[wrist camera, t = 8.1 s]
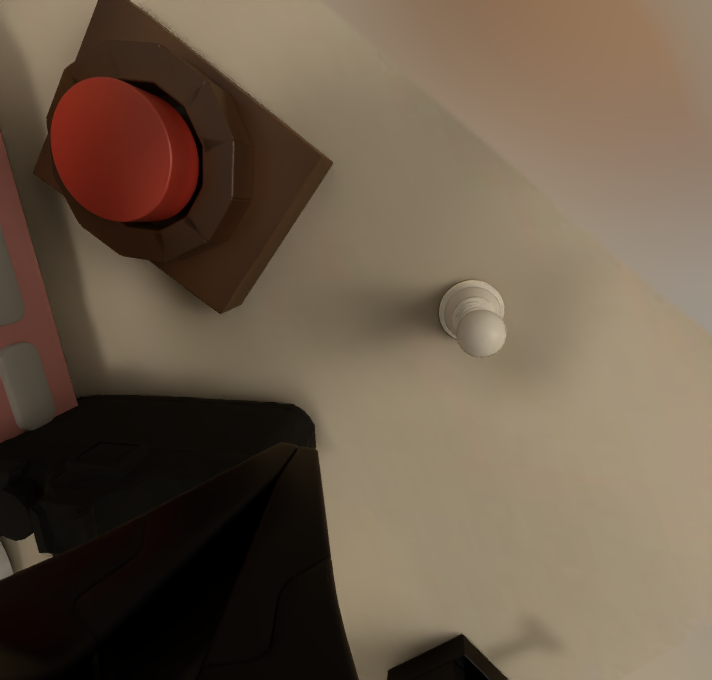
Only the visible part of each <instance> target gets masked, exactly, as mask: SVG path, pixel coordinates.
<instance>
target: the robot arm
mask: <svg viewBox="0 0 712 680" xmlns="http://www.w3.org/2000/svg"><path fill="white" fill-rule="evenodd" d="M0 680H359V679H358V675H357V672H356V668H355V665H354V661H353V658H352V654H351V651H350V647H349V644H348V640H347V637H346V633H345V629H344V625H343V621H342V617H341V613H340V609H339V605H338V600H337V594H336V588H335V582H334V575H333V567H332V560H331V553H330V545H329V537H328V529H327V521H326V513H325V505H324V497H323V489H322V481H321V473H320V465H319V457H318V451H317V450H316V449H313V448H308V447H303V446H301V447H299V448H298V446H297V445H293V444H288V443H283V442H281V443H278V444H276V445H274V446H272V447H270V448H268V449H267V450H265V451H263V452H261V453H259V454H257V455H255V456H253V457H251V458H249V459H247V460H245V461H243V462H242V463H240V464H238V465H236V466H234V467H232V468H230V469H228V470H226V471H224V472H222V473H220V474H218V475H217V476H215V477H213V478H211V479H209V480H207V481H205V482H203V483H201V484H199V485H197V486H195V487H193V488H192V489H190V490H188V491H186V492H184V493H182V494H180V495H178V496H176V497H174V498H172V499H170V500H168V501H167V502H165V503H163V504H161V505H159V506H157V507H155V508H153V509H151V510H149V511H147V512H146V513H145V517H144V515H139V516H137V517H135V518H134V519H132V520H130V521H128V522H126V523H124V524H122V525H120V526H118V527H116V528H114V529H112V530H110V531H108V532H106V533H104V534H102V535H100V536H98V537H96V538H94V539H92V540H90V541H87V542H85V543H83V544H81V545H78V546H76V547H74V548H72V549H70V550H67V551H65V552H63V553H61V554H59V555H56V556H54V557H52V558H50V559H47V560H45V561H43V562H40V563H38V564H36V565H33V566H31V567H29V568H26V569H24V570H22V571H20V572H17V573H15V574H13V575H10V576H8V577H6V578H3V579H1V580H0Z"/></svg>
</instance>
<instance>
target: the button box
mask: <svg viewBox="0 0 712 680" xmlns="http://www.w3.org/2000/svg"><path fill="white" fill-rule="evenodd" d="M93 77H110V78H115V79H118V80H121V81H124V82H126V83H128V84H130V85H133V86H135V87H137V88H139V89H141V90H144V91H146V92H148V93H150V94H153V95H155V96H157V97H159V98H161V99H163V100H164V101H166V102H167V103H168V104H170V105H171V106H172V107H173V108H174V109H175V110H176V111H177V112H178V113H179V114H180V115H181V116H182V118H183V119H184V121H185V122H186V123H187V125H188V127H189V129H190V131H191V133H192V135H193V137H194V140H195V143H196V147H197V151H198V157H199V176H198V182H197V185H196V189H195V191H194V193H193V196H192V197H191V199H190V201H189V202H188V204H187V205H186V206H185V207H184V208H183V209H182V210H181V211H180V212H179V213H177V214H176V215H174V216H173V217H171V218H168V219H166V220H162V221H154V222H115V221H110V220H106V219H104V218H101V217H99V216H97V215H95V214H93V213H91V212H90V211H88V210H87V209H86V208H84V207H83V206H82V205H81V204H80V203H79V202H78V201H77V200H76V199H75V198H74V197H73V196H72V195H71V193H70V192H69V191H68V190H67V188H66V186H65V185H64V183H63V182H62V180H61V178H60V176H59V173H58V171H57V168H56V166H55V162H54V159H53V155H52V149H51V125H52V119H53V116H54V112H55V110H56V107H57V105H58V103H59V101H60V100H61V98H62V97H63V95H64V94H65V93H66V92H67V91H68V90H69V89H70V88H71V87H72V86H74V85H75V84H77V83H79V82H80V81H83V80H85V79H88V78H93ZM46 119H47V130H48V134H47V137H46V140H45V142H44V145H43V148H42V150H41V153H40V156H39V158H38V161H37V164H36V166H35V169H34V172H33V173H34V174H36V175H37V176H38V177H40V178H41V179H42V180H44V181H45V182H46V183H47V184H49V185H50V186H51V187H53V188H54V189H55V190H57V191H58V192H59V193H61V194H62V195H63V196H64V197H65V199H66V201H67V203H68V204H69V206H70V208H71V210H72V212H73V213H74V215H75V217H76V219H77V221H78V222H79V224H81V226H82V227H83V228H85V229H86V230H87V231H89V232H90V233H91V234H93V235H94V236H95V237H97V238H98V239H99V240H101V241H102V242H103V243H105V244H106V245H107V246H109V247H110V248H111V249H113V250H114V251H115V252H117V253H118V254H119V255H122V256H125V257H132V258H138V259H145V260H149V261H151V262H152V263H153V264H155V265H156V266H157V267H159V268H160V269H161V270H163V271H164V272H165V273H166V274H168V275H169V276H170V277H172V278H173V279H174V280H176V281H177V282H178V283H180V284H181V285H182V286H184V287H185V288H186V289H188V290H189V291H190V292H192V293H193V294H194V295H196V296H197V297H198V298H200V299H201V300H202V301H203V302H205V303H206V304H207V305H209V306H210V307H211V308H213V309H214V310H215V311H217V312H218V313H219V314H222V313H224V312H226V311H228V310H230V309H232V308H235V307H237V306H239V305H241V304H242V303H243V301H244V299H245V298H246V296H247V295H248V293H249V292H250V290H251V289H252V287H253V286H254V284H255V283H256V281H257V279H258V278H259V276H260V275H261V273H262V272H263V270H264V269H265V267H266V266H267V264H268V263H269V261H270V259H271V258H272V256H273V255H274V253H275V252H276V250H277V249H278V247H279V246H280V244H281V243H282V241H283V239H284V238H285V236H286V235H287V233H288V232H289V230H290V229H291V227H292V226H293V224H294V223H295V221H296V219H297V218H298V216H299V215H300V213H301V212H302V210H303V209H304V207H305V206H306V204H307V203H308V201H309V199H310V198H311V196H312V195H313V193H314V192H315V190H316V189H317V187H318V186H319V184H320V183H321V181H322V180H323V178H324V176H325V175H326V173H327V172H328V170H329V169H330V167H331V166H332V164H333V162H332V161H331V160H330V159H329V158H327V157H326V156H325V155H324V154H322V153H321V152H320V151H319V150H317V149H316V148H315V147H314V146H312V145H311V144H310V143H309V142H307V141H306V140H305V139H304V138H302V137H301V136H300V135H299V134H297V133H296V132H295V131H294V130H292V129H291V128H290V127H289V126H287V125H286V124H285V123H284V122H282V121H281V120H280V119H279V118H277V117H276V116H275V115H274V114H272V113H271V112H270V111H269V110H267V109H266V108H265V107H264V106H262V105H261V104H260V103H259V102H257V101H256V100H255V99H254V98H252V97H251V96H250V95H249V94H247V93H246V92H245V91H244V90H242V89H241V88H240V87H239V86H237V85H236V84H235V83H234V82H232V81H231V80H230V79H228V78H227V77H226V76H225V75H223V74H222V73H221V72H220V71H218V70H217V69H216V68H215V67H213V66H212V65H211V64H210V63H208V62H207V61H206V60H205V59H203V58H202V57H201V56H200V55H198V54H197V53H196V52H195V51H193V50H192V49H191V48H190V47H188V46H187V45H186V44H185V43H183V42H182V41H181V40H180V39H178V38H177V37H176V36H175V35H173V34H172V33H171V32H170V31H168V30H167V29H166V28H165V27H163V26H162V25H161V24H160V23H158V22H157V21H156V20H155V19H153V18H152V17H151V16H150V15H148V14H147V13H146V12H145V11H143V10H142V9H141V8H139V7H138V6H136V5H135V4H134V3H132V2H131V1H130V0H98V2H97V5H96V7H95V10H94V13H93V15H92V18H91V21H90V23H89V26H88V29H87V31H86V34H85V37H84V39H83V42H82V45H81V47H80V50H79V52H78V55H77V58H76V60H75V62H73V63H72V64H70V65H69V66H68V67H66V69H64V72H63V74H62V77H61V80H60V82H59V85H58V88H57V91H56V93H55V96H54V99H53V101H52V104H51V107H50V109H49V112H48V115H47V118H46Z"/></svg>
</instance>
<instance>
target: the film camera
mask: <svg viewBox="0 0 712 680" xmlns="http://www.w3.org/2000/svg"><path fill="white" fill-rule="evenodd" d="M76 400H77V403H78V406H76V407H74V408H72V409H70V410H68V411H66V412H64V413H62V414H60V415H58V416H56V417H54V418H53V420H52V421H50V422H49V423H47V424H45V425H43V426H41V427H39V428H37V429H35V430H33V431H26V432H24V433H22V434H20V435H18V436H16V437H14V438H11V439H8V440H5V441H3V442H2V443H0V537H1V536H4V537H6V538H9V539H12V540H15V541H18V540H22V539H25V538H27V537H28V536H30V535H31V534H32V533H34V535H35V539H36V543H37V546H38V550H39V553H51V554H52V555H53V557H54V556H56V555H59V554H61V553H63V552H65V551H67V550H70V549H72V548H74V547H76V546H78V545H81V544H83V543H85V542H87V541H90V540H92V539H94V538H96V537H98V536H100V535H102V534H104V533H106V532H108V531H110V530H112V529H114V528H116V527H118V526H120V525H122V524H124V523H126V522H128V521H130V520H132V519H134V518H135V517H137V516H139V515H144V517H145V513H146V512H147V511H149V510H151V509H153V508H155V507H157V506H159V505H161V504H163V503H165V502H167V501H168V500H170V499H172V498H174V497H176V496H178V495H180V494H182V493H184V492H186V491H188V490H190V489H192V488H193V487H195V486H197V485H199V484H201V483H203V482H205V481H207V480H209V479H211V478H213V477H215V476H217V475H218V474H220V473H222V472H224V471H226V470H228V469H230V468H232V467H234V466H236V465H238V464H240V463H242V462H243V461H245V460H247V459H249V458H251V457H253V456H255V455H257V454H259V453H261V452H263V451H265V450H267V449H268V448H270V447H272V446H274V445H276V444H278V443H281V442H283V443H288V444H293V445H297V446H298V448H299V447H301V446H303V447H308V448H313V449H315V448H316V439H315V425H314V424H313V422H312V420H311V419H310V417H309V416H308V415H307V414H306V413H305V411H303V410H302V409H301V408H299V407H297V406H295V405H294V404H281V403H275V402H256V401H241V400H222V399H200V398H189V397H164V396H139V395H95V396H88V397H79V398H77V399H76Z"/></svg>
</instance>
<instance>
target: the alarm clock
mask: <svg viewBox="0 0 712 680" xmlns="http://www.w3.org/2000/svg"><path fill="white" fill-rule="evenodd" d="M76 406H78V403H77V400H76V396H75V393H74V389H73V386H72V382H71V379H70V375H69V372H68V368H67V364H66V360H65V357H64V354H63V350H62V347H61V343H60V340H59V336H58V333H57V329H56V326H55V322H54V319H53V315H52V311H51V308H50V304H49V301H48V297H47V294H46V290H45V287H44V283H43V280H42V276H41V273H40V269H39V266H38V262H37V259H36V255H35V251H34V248H33V244H32V241H31V237H30V234H29V230H28V227H27V223H26V220H25V216H24V213H23V209H22V206H21V202H20V198H19V195H18V191H17V188H16V184H15V181H14V177H13V174H12V170H11V167H10V163H9V160H8V156H7V153H6V149H5V146H4V142H3V138H2V135H1V131H0V443H2V442H3V441H5V440H8V439H11V438H14V437H16V436H18V435H20V434H22V433H24V432H26V431H33V430H35V429H37V428H39V427H41V426H43V425H45V424H47V423H49V422H50V421H52V420H53V418H54V417H56V416H58V415H60V414H62V413H64V412H66V411H68V410H70V409H72V408H74V407H76Z"/></svg>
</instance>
